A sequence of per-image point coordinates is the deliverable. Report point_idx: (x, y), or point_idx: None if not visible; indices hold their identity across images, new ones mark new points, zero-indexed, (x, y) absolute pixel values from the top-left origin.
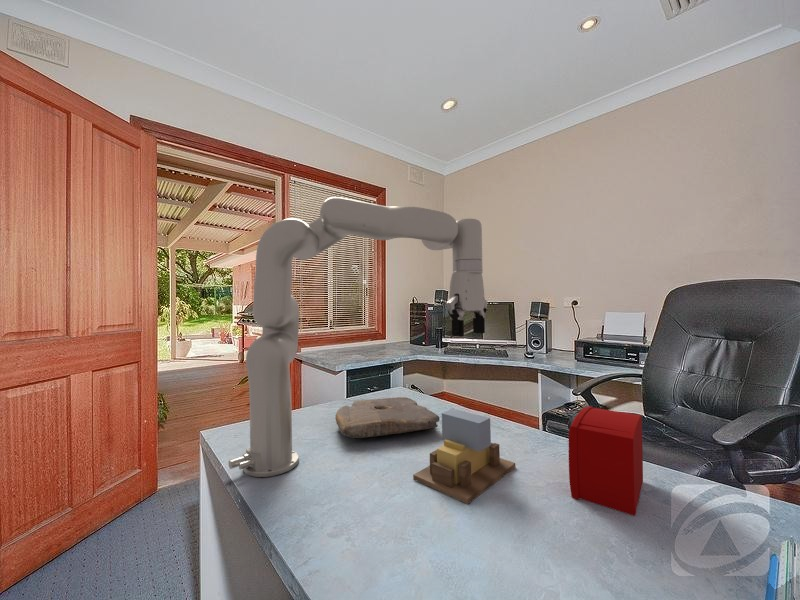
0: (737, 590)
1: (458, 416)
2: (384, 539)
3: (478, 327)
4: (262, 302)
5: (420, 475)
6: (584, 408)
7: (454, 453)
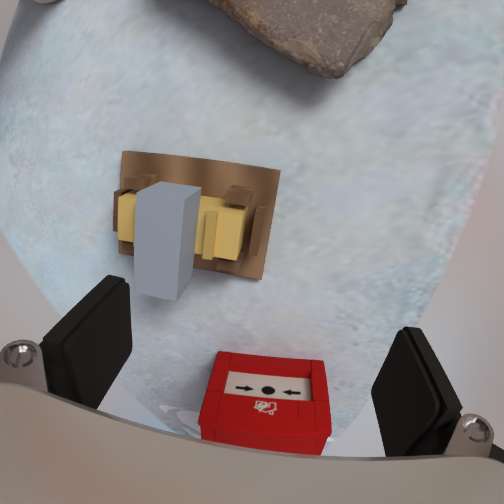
0: (169, 426)
1: (141, 238)
2: (32, 204)
3: (392, 391)
4: None
5: (126, 162)
6: (288, 436)
7: (122, 233)
